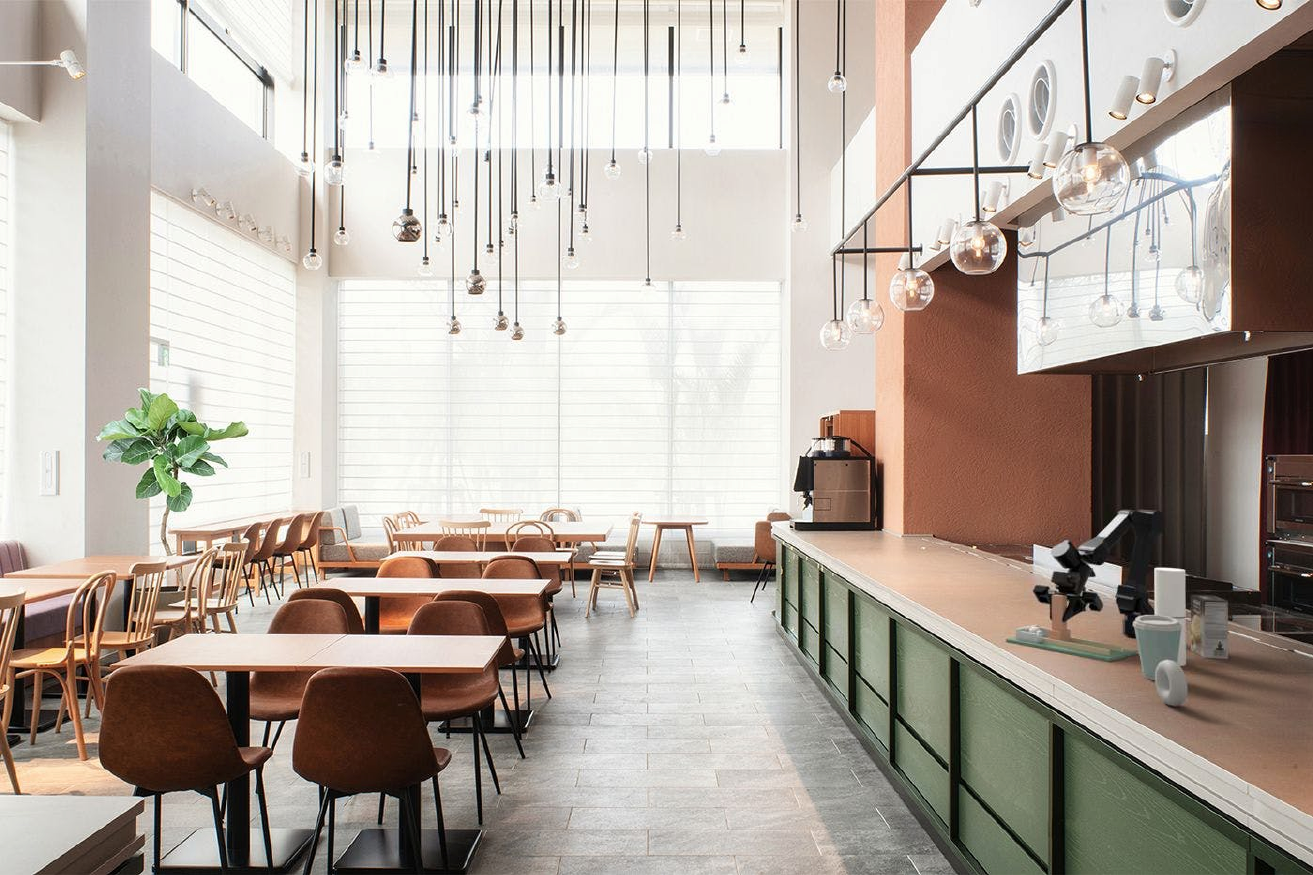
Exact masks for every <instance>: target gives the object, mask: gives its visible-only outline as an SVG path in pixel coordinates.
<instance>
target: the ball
mask: <svg viewBox="0 0 1313 875" xmlns="http://www.w3.org/2000/svg"><path fill="white" fill-rule="evenodd" d="M1038 627H1039V626H1038ZM1038 627H1031V628H1030V629H1029V633H1035V634H1037V631H1041V630H1040V629H1039V628H1038Z"/></svg>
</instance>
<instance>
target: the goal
mask: <svg viewBox="0 0 1313 875" xmlns="http://www.w3.org/2000/svg"><path fill="white" fill-rule="evenodd" d="M1031 627H1038V628H1039V629H1040V630H1041V631H1037V634H1035V633H1029V629H1030V628H1031ZM1051 629H1052V628H1048V627H1043V626H1039V625H1038V624H1034V625H1027V626H1022V627H1018V628H1015V637H1016V639H1018V640H1023V641H1029V642H1034V643H1038V644H1043V636H1044V637H1048V630H1051Z"/></svg>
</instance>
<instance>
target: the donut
mask: <svg viewBox="0 0 1313 875" xmlns="http://www.w3.org/2000/svg"><path fill="white" fill-rule="evenodd" d="M1154 682H1155V687H1156V691H1157V694H1158V695H1159V698H1160V699H1161V700H1162V701H1163V702H1164V703H1165V704H1167V705H1168V706H1172V707H1178V706H1181V705H1182V704H1184V702H1185V701H1186V699H1187V696H1188V680H1187V677H1186V675H1185V672H1184V670H1183V669H1182V667H1181V666H1179V665H1178V664H1177V663H1176V662H1174V661H1171V660H1164V661H1162V662H1160V663H1159V664H1158V666H1157V668H1156V672H1155V680H1154Z"/></svg>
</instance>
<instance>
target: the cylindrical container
mask: <svg viewBox="0 0 1313 875" xmlns="http://www.w3.org/2000/svg"><path fill="white" fill-rule="evenodd" d="M1153 575H1154V583H1153V584H1154V610H1155V615H1159V616H1168V617H1171V618H1175V619H1176V620H1178V621H1179V624H1180V625H1182V629H1181V635H1180V643H1179V650H1178V658H1177V664H1178V665H1179V666H1180V667H1181V666H1182V667H1184V666H1187V648H1186V644H1187V642H1186V641H1187V640H1186V636H1187V632H1186V629H1187V628H1186V627H1187V626H1186V625H1187V624H1186V623H1187V622H1186V621H1187V620H1186V608H1187V607H1186V570H1185V569H1181V568H1175V567H1174V568H1173V567H1155V568H1154V574H1153Z"/></svg>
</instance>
